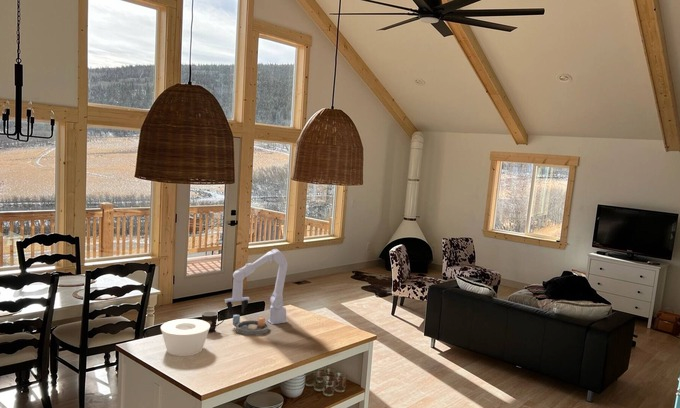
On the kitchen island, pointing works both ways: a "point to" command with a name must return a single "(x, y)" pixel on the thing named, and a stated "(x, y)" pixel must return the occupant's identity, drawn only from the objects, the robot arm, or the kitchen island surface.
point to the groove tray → (251, 328)
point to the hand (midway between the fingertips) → (236, 313)
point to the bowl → (185, 336)
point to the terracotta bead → (261, 322)
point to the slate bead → (236, 319)
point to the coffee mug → (211, 319)
